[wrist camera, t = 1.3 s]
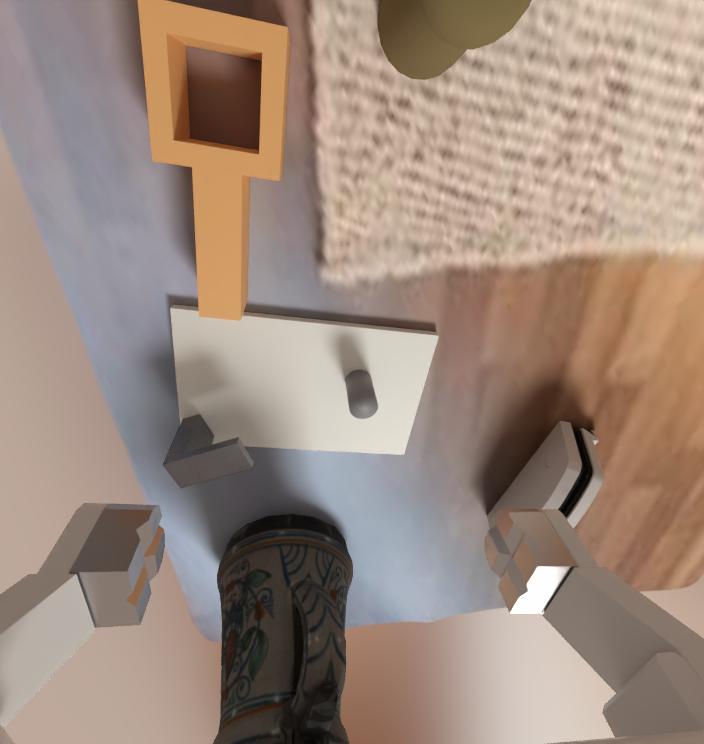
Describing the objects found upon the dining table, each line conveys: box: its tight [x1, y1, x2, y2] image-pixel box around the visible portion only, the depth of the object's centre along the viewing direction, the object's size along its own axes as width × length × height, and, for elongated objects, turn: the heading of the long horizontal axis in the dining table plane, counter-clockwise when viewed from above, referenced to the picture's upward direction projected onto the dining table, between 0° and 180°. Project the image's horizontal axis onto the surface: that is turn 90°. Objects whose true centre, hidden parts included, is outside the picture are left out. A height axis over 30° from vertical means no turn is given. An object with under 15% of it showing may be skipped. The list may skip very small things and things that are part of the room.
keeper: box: [163, 414, 253, 488], centre depth 36 cm, size 7×3×7 cm, turn 106°
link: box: [138, 0, 291, 321], centre depth 27 cm, size 18×8×4 cm, turn 171°
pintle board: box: [170, 304, 439, 455], centre depth 36 cm, size 14×23×5 cm, turn 81°
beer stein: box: [213, 514, 353, 744], centre depth 40 cm, size 16×19×25 cm
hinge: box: [487, 421, 604, 529], centre depth 45 cm, size 17×5×10 cm, turn 160°
